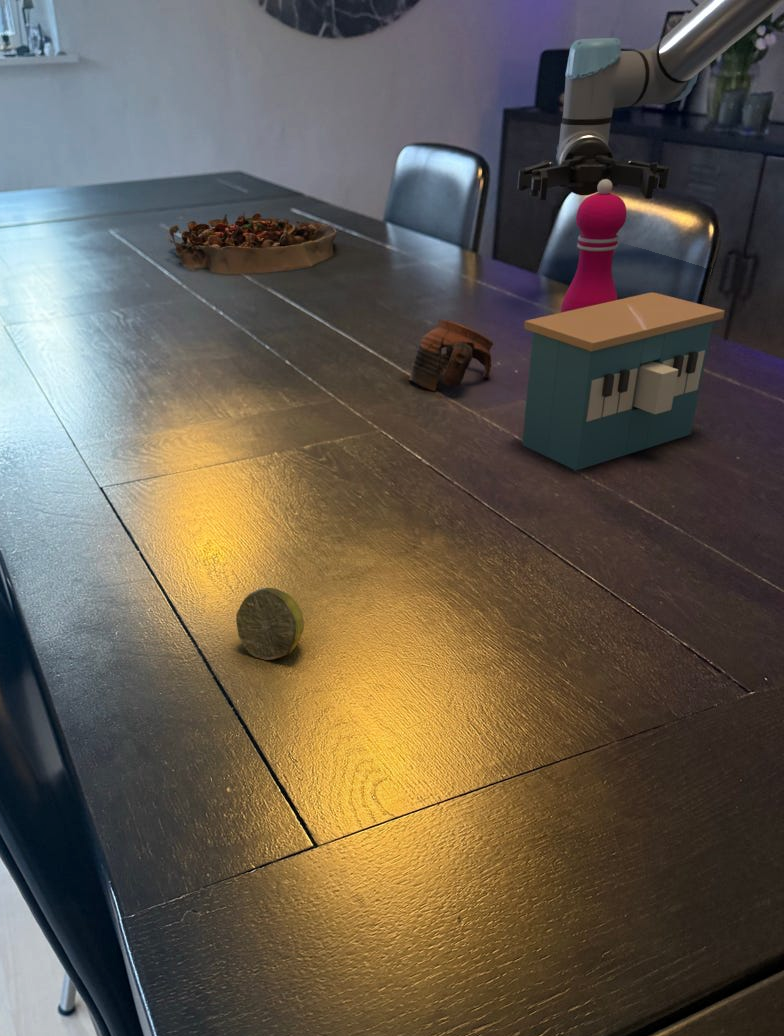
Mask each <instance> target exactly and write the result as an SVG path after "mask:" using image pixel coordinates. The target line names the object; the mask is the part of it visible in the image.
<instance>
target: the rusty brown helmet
mask: <svg viewBox="0 0 784 1036" xmlns="http://www.w3.org/2000/svg"><path fill="white" fill-rule="evenodd" d="M493 346H494V342H493V341H492V340H491V339H490V338H488V337H487V336H485V335H484V334H482V333H480V332H478V331H476V330H473V329H472V328H470V327H468V326H465V325H463V324H460V323H458V322H455V321H452V320H448V319H439V320H438V323H437V325H436V327H435V328H433V329H431V330H429V331H428V332H426V334H425V335H423V337H422V339H421V340H420V342H419V346H418V348H417V349H416V354H415V359H414V361H413V362H412V364H411V366H410V377H409V378H408V379H409V381H410V382H412V383H414V384H416V385H418V386H419V387H422V388H424V389H426V390H429V391H432V392H436V391H437V388H438V383H440V379H441V381H442V383H443V384H444V385H446V386H447V387H457V386H460V385H461V384H462V381H463V380H464V377H465V374H466V371H467V369H468V368H469V366H470V364H471V362H472V360H473V359H474V360H477V361H478V362H479V363H480V364H481V365H482V366H483V367H484V370H483V372H482V373H483V374H482V377H483V379H488V378H489V377H490V373H491V368H492V366H493V365H492V355H491V348H492V347H493ZM443 349H445V353H442V350H443Z"/></svg>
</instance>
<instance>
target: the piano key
mask: <svg viewBox="0 0 784 1036" xmlns="http://www.w3.org/2000/svg"><path fill="white" fill-rule="evenodd" d="M677 375H678V369H675V368H672V367H669V366H666V365H663V364H660V363H657V362H654V361H650V362H646V363H642V364H640V365H639V371H638V377H637V384H636V390H635V396H634V402H633V406H634V407H636V408H639V409H642V410H644V411H647V412H650V413H652V414H659V413H662V412H665V411H669V410H671V407H672V402H673V396H674V391H675V386H676V380H677Z"/></svg>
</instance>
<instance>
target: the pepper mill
mask: <svg viewBox="0 0 784 1036" xmlns="http://www.w3.org/2000/svg"><path fill="white" fill-rule="evenodd" d="M597 190H598V192H596V193H594V194H591V195H588V196H587V197H585V198H584V199H583V200H582V202H581V203H580V204H579V206H578V209H577V211H576V215H575V222H576V226H577V228H578V229H579V231H580V233H581V234H579V235H578V236H577V240H578V242H577V244H576V247H577V249H579V258H578V264H577V267H576V271H575V274H574V276H573V278H572V280H571V283H570V285H569V286H568V288H567V290H566V291H565V294H564V297H563V300H562V302H561V303H562V304H561V308H560V313H562V312H567V311H571V310H575V309H580V308H584V307H589V306H593V305H598V304H602V303H606V302H611V301H615V300H619V299H618V293H617V290H616V286H615V283H614V278H613V257H614V252H615V250H616V249H618V247H619V244H618V241H619V240H620V236H619V235H618V232H619V231H620V230H621V229H622V228H623V227H624V225H625V223H626V220H627V206H626V203H625V201H624V200H623V199H622V198H621V197H620V196H619V195H617V194H614V193H611V192H612V190H613V187H612V183H611V181H610V180H608V179H604V180H602V181H600V182H599V184H598V186H597Z"/></svg>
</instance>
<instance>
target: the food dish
mask: <svg viewBox="0 0 784 1036" xmlns="http://www.w3.org/2000/svg"><path fill="white" fill-rule="evenodd" d="M245 214H246V213H245V212H243V215H242V214H239V215H238V217H237V218H236V221H235V222H234V223H232V224H230V223H229V221H228V219H227V217H228V214H226V213H225V214H224V217H223V218H222V219H221V218H216V219H210V220H208V221H207V222H208V223H202V222H201V223H197V222H196V221H195V220H192V221H189V222H188V223H187V229H188V231H187V230H184V231H182V232H181V237H180V238H181V240H182V242H177V241H176V239H175V234H177V233H178V231H180V226H179V225H174V226H171V227H170V228H168V231H169V235H170V237H171V238H172V239H171V238H170V237H169V236H168V235H167V234H165V237H166V238H167V240H168V241H169V242H170V243H171V244H174V247H175V252H176V257H177V258H178V259H179V263H180V264H181V265H182V267H183V268H185V269H188V270H189V271H194V272H195V270H196V269H208V270H209V272H212V273H214V274H223V275H245V274H266V273H267V274H268V273H276V272H286V271H293V270H299V269H304V268H305V269H306V268H311V267H312V266H314V265H316V264H318V263H320V262H323V261H326V260H327V259H329V258H332V257H333V256H334V241H335V239H336V236H337V235H338V230H337V229H336V228H335V227H333V226H330V225H329V224H326V223H321V222H315V221H302V220H298V221H295V223H296V224H298V226H295V225H294V224H292V223H290V222H291V220H290V219H288V218H285V219H284V220H281V218H262V215H261V213H259V212H256V213H255V212H254V214H252V216H251V217H247V218H246V216H245Z"/></svg>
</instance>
